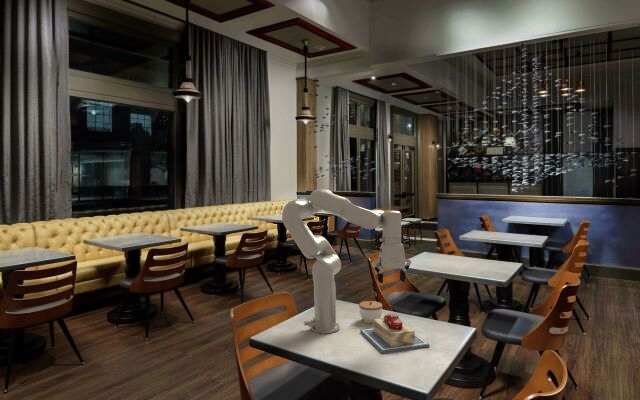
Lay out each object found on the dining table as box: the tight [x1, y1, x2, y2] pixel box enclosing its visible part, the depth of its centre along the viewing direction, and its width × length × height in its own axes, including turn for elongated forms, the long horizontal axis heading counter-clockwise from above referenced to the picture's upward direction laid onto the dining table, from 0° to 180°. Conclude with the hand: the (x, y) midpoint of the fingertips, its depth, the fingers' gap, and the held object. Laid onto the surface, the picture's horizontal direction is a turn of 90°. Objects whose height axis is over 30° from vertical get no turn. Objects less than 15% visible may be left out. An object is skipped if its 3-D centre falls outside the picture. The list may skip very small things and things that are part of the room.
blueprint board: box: [359, 317, 430, 355], centre depth 157 cm, size 20×22×6 cm
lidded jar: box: [358, 300, 383, 324], centre depth 179 cm, size 11×11×9 cm
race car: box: [383, 313, 403, 329], centre depth 157 cm, size 13×5×4 cm, turn 3°
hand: (391, 281), depth 159 cm, fingers open, 9 cm apart
